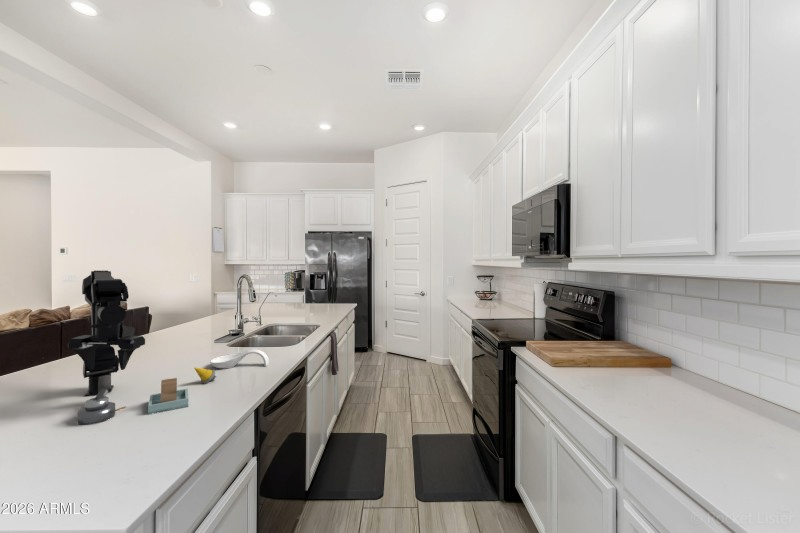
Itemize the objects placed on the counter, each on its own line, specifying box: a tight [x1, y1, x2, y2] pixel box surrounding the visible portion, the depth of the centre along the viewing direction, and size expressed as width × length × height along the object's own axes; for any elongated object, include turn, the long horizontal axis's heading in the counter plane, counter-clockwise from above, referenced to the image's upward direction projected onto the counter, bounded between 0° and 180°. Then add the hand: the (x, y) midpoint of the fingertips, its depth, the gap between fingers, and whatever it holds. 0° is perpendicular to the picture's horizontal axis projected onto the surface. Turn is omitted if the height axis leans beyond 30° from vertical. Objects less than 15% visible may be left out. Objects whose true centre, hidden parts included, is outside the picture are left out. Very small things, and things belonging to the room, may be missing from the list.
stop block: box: [160, 377, 178, 403], centre depth 103 cm, size 4×4×7 cm
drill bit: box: [193, 366, 217, 385], centre depth 121 cm, size 5×5×10 cm
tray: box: [147, 388, 189, 415], centre depth 103 cm, size 10×10×2 cm
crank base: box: [76, 401, 126, 426], centre depth 94 cm, size 9×10×3 cm
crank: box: [84, 374, 112, 411], centre depth 98 cm, size 16×5×5 cm, turn 35°
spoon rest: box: [209, 348, 270, 370], centre depth 142 cm, size 24×12×7 cm, turn 99°
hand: (107, 369), depth 101 cm, fingers open, 9 cm apart
